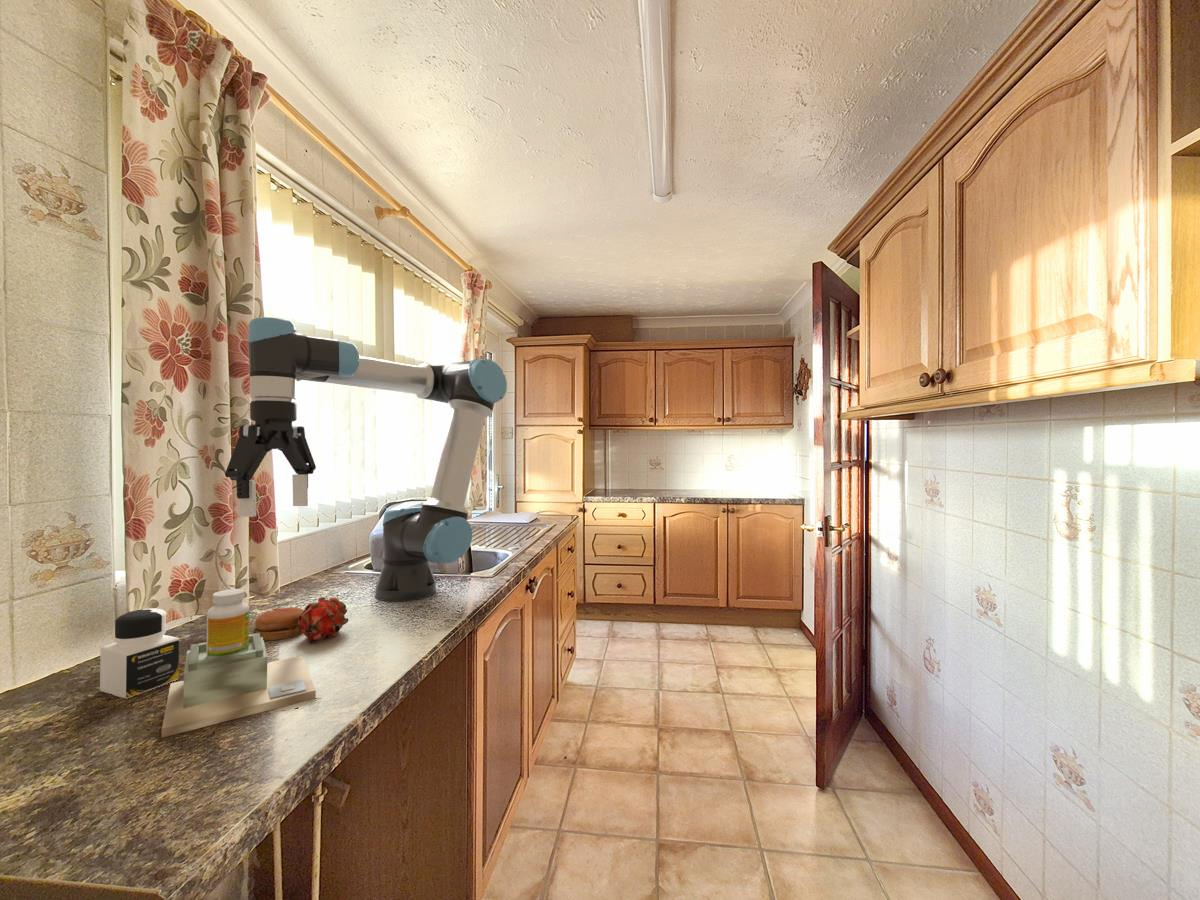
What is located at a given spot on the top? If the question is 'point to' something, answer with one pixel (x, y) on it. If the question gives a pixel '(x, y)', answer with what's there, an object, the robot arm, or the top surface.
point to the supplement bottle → (227, 624)
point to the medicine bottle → (139, 655)
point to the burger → (278, 623)
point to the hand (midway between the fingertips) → (276, 511)
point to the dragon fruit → (322, 619)
